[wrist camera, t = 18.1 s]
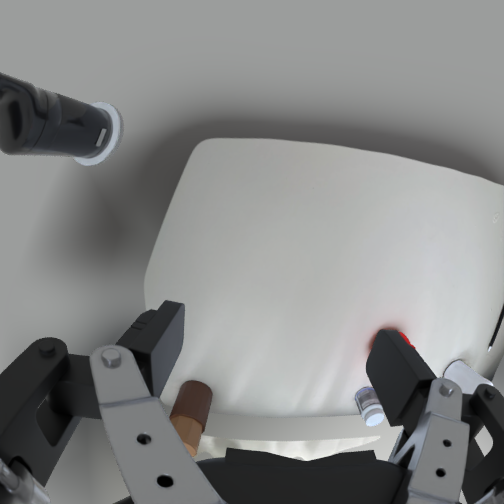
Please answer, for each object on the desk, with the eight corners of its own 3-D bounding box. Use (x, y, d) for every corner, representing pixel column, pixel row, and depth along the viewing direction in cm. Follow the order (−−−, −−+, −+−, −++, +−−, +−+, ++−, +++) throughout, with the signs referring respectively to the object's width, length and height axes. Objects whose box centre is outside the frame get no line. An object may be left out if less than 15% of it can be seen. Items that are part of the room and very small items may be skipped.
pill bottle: (370, 400, 51) (381, 426, 43) (352, 402, 51) (361, 428, 43) (377, 385, 50) (389, 411, 42) (358, 387, 50) (368, 413, 42)
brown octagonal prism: (172, 430, 43) (164, 453, 37) (170, 413, 41) (161, 436, 36) (201, 437, 43) (196, 460, 37) (202, 420, 41) (196, 444, 36)
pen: (511, 282, 43) (514, 283, 42) (488, 350, 47) (490, 352, 46) (510, 282, 43) (513, 283, 42) (486, 350, 47) (488, 353, 46)
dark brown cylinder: (181, 399, 53) (164, 446, 39) (181, 377, 51) (161, 425, 37) (211, 405, 53) (200, 454, 39) (213, 384, 51) (201, 435, 37)
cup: (467, 345, 47) (495, 374, 34) (467, 371, 49) (491, 399, 36) (435, 367, 49) (461, 401, 36) (437, 391, 51) (459, 424, 38)
